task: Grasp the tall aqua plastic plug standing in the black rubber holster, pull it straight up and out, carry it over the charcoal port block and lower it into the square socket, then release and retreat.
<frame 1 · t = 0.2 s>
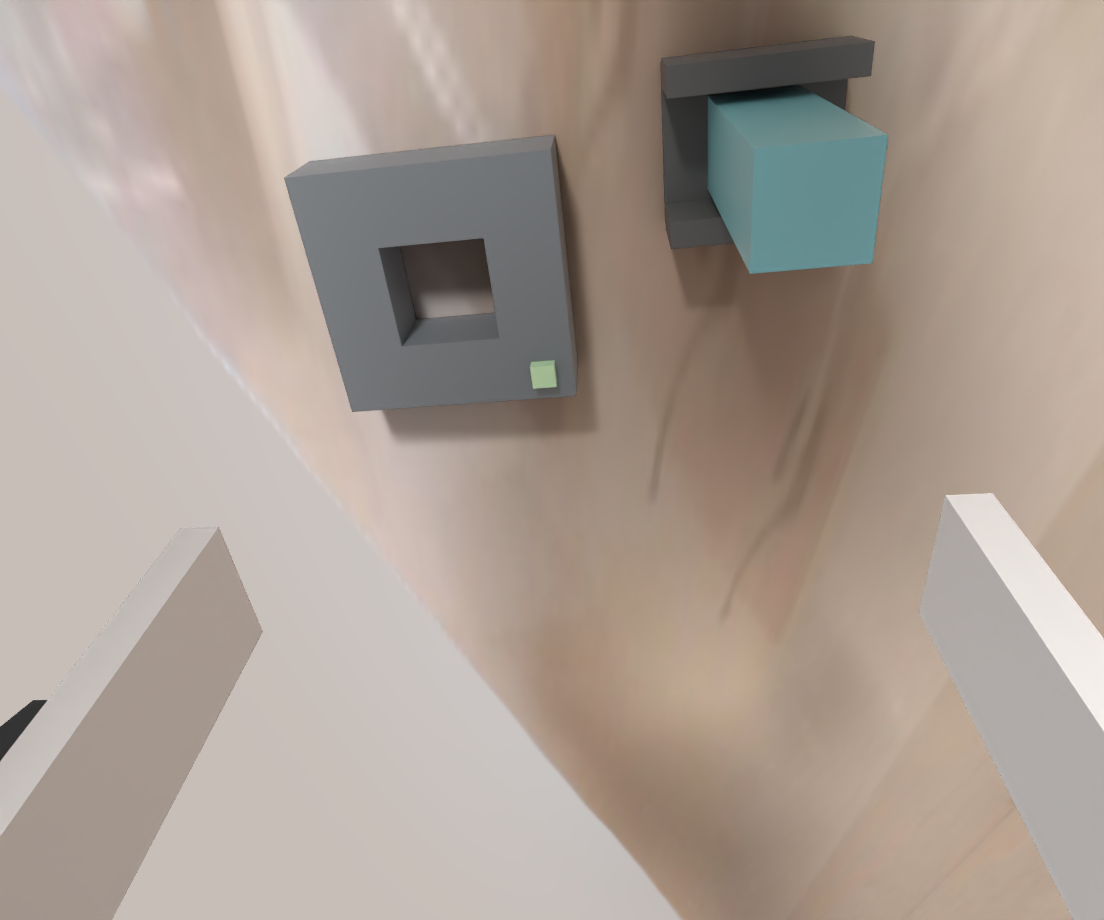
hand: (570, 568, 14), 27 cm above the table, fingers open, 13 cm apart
port: (452, 270, 39), on the table
plug: (752, 139, 34), point 1 cm above the table, touching holster
holster: (750, 136, 34), on the table
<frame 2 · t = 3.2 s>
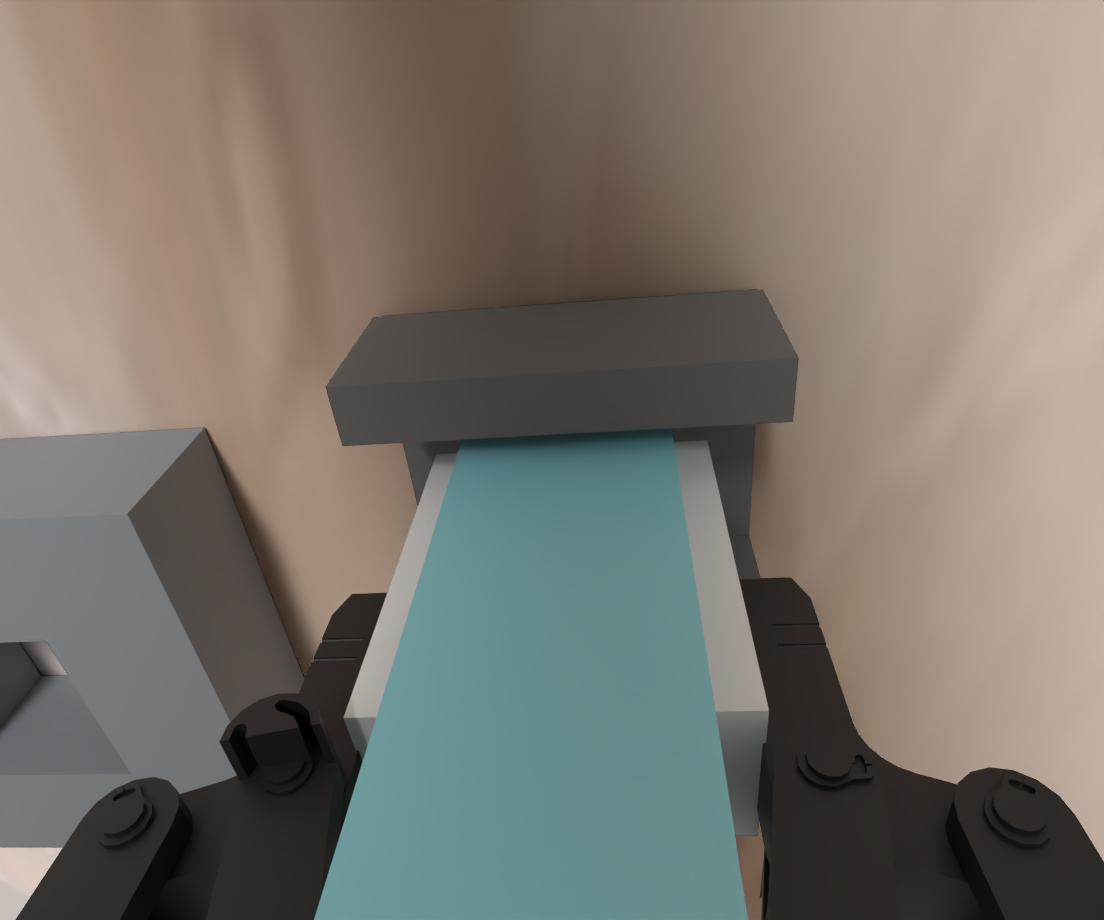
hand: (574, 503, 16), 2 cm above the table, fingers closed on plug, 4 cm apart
port: (81, 615, 22), on the table
plug: (576, 456, 17), point 1 cm above the table, touching gripper, holster
holster: (577, 443, 18), on the table
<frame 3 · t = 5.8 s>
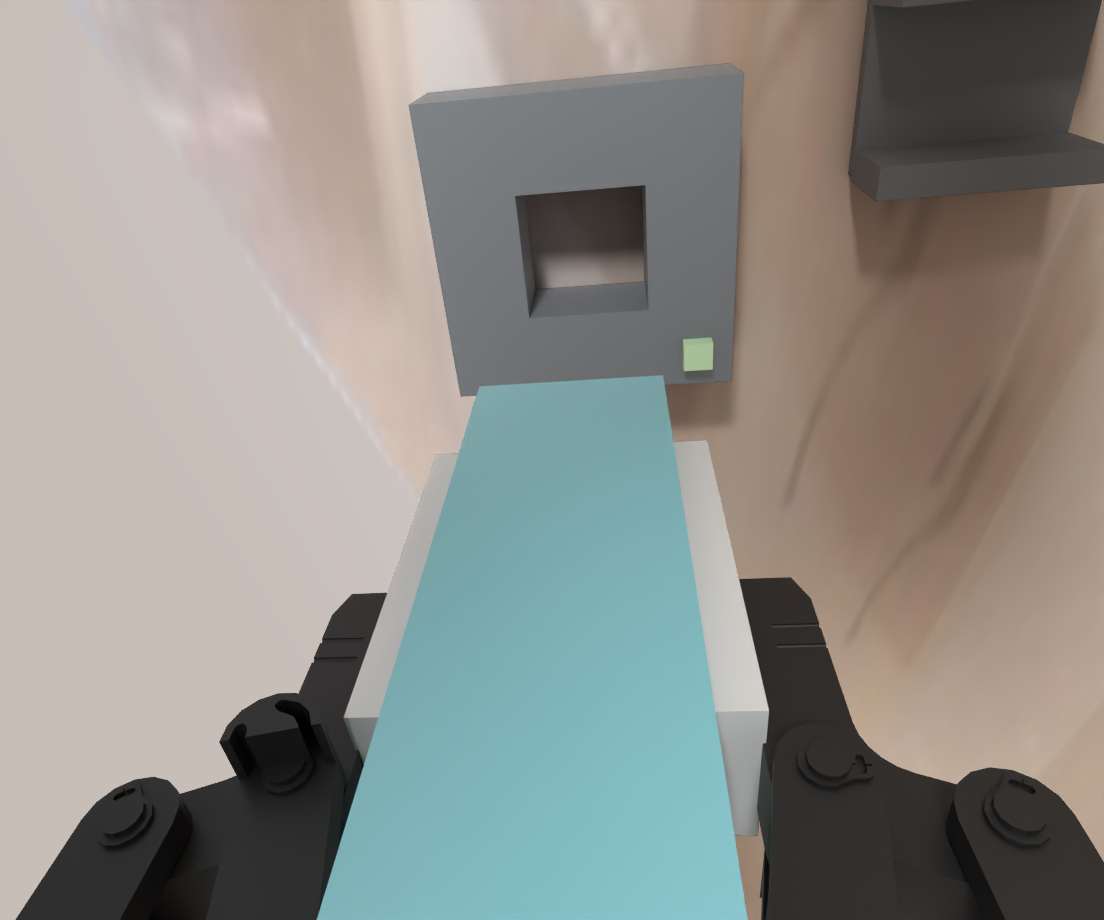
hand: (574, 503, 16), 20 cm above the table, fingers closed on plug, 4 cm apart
port: (585, 230, 33), on the table
plug: (577, 458, 17), point 19 cm above the table, touching gripper
holster: (966, 69, 29), on the table
when the fingers open (4 cm above the table, at t = 8.4 s): plug drops 2 cm, resting in port.
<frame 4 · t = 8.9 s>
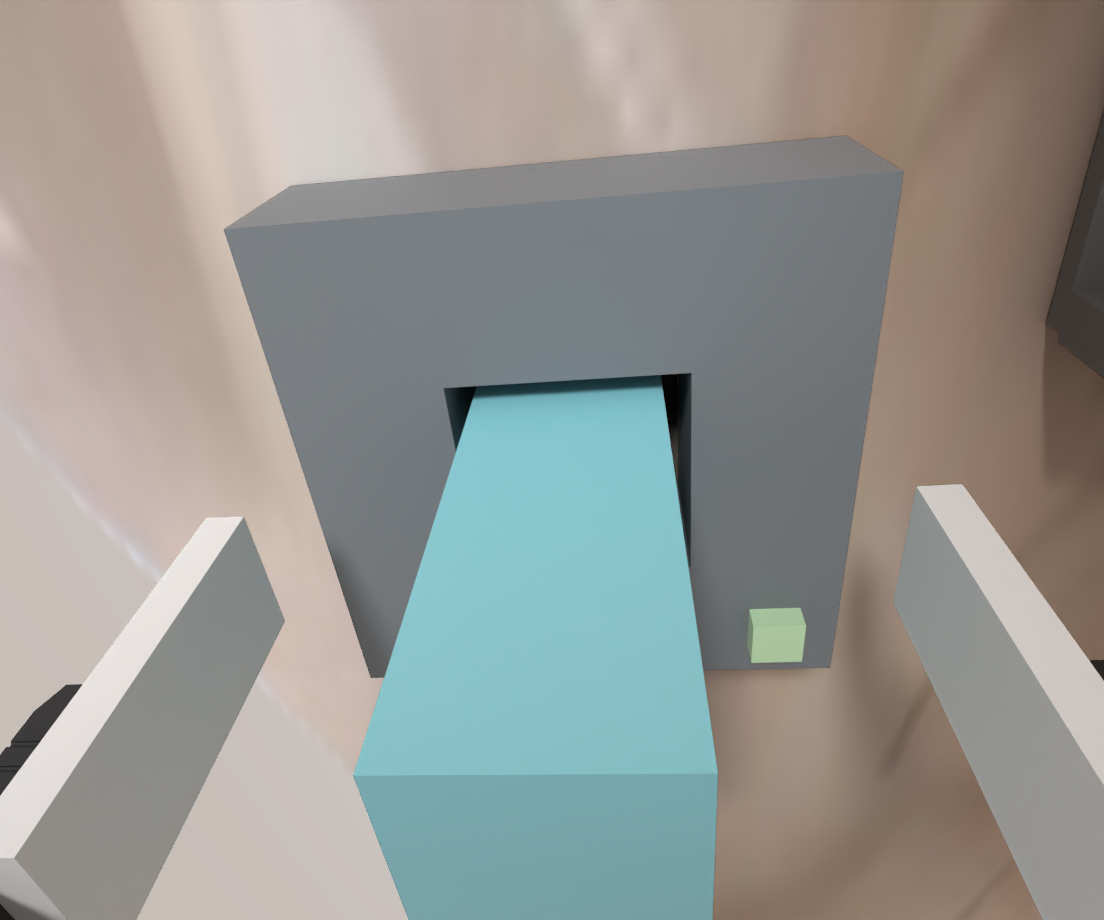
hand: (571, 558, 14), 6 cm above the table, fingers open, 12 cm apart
port: (579, 406, 19), on the table
plug: (578, 407, 19), resting in port
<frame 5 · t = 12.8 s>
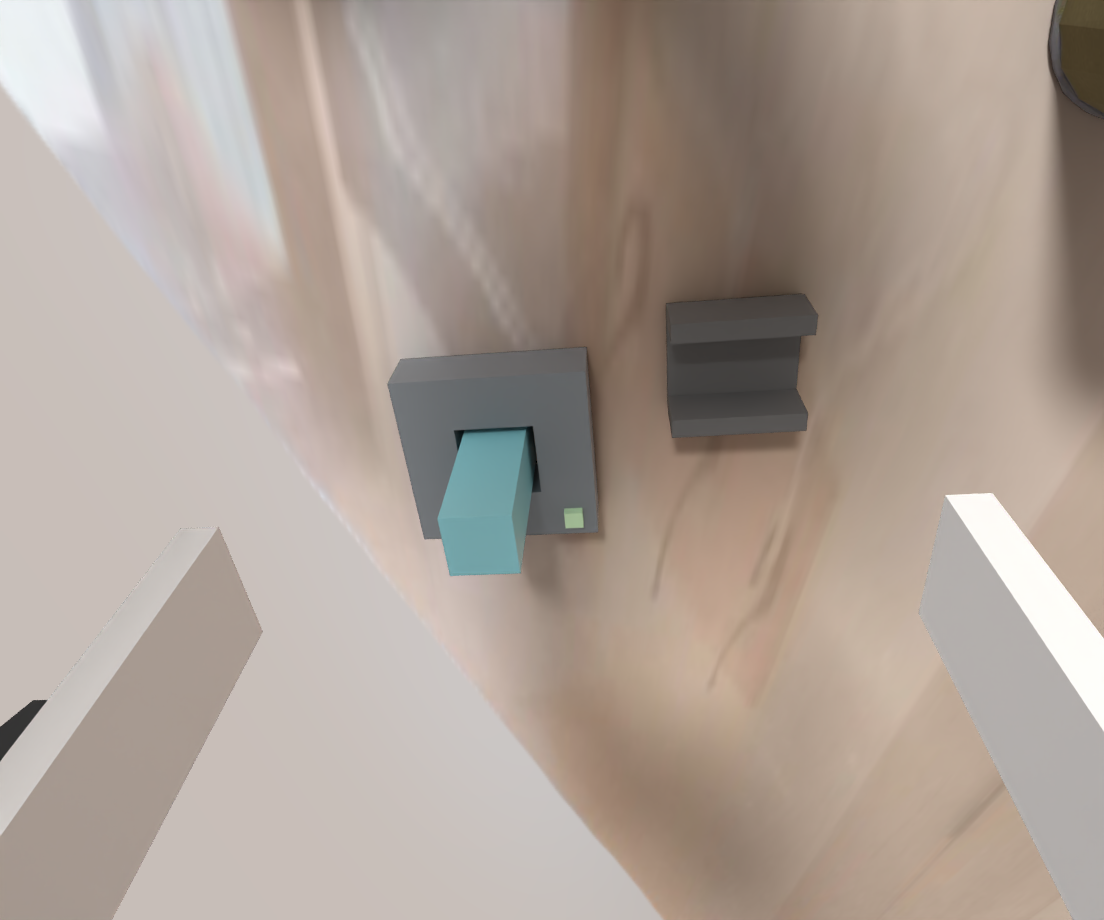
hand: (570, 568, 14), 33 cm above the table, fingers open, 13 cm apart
port: (504, 434, 51), on the table
plug: (504, 434, 51), resting in port
holster: (731, 352, 46), on the table
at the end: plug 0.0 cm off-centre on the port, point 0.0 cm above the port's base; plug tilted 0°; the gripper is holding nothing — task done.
